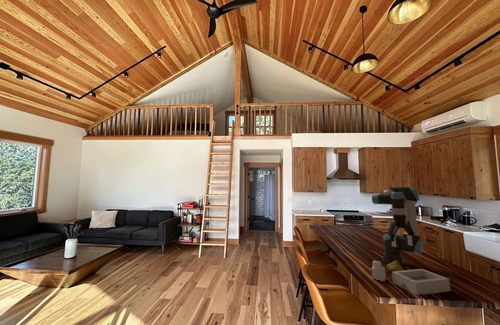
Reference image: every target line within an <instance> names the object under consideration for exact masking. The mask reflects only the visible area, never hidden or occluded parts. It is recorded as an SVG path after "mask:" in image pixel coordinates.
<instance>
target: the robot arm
mask: <svg viewBox="0 0 500 325" xmlns="http://www.w3.org/2000/svg"><path fill="white" fill-rule="evenodd" d="M419 201H420V196H419V193H418V189H417V188H416V186H415V187H414V186H394V187H393V186H392V187H389V188H387V189H385V190H383V191H382V193H379V194H377V193H375V194H372V196H371V202H372V204H373V205H389V206H391V211H392V218H393V219H392V220H394V221H390V225H389V227H388V228H389V229H388V231H387V233H385V234H383V238H382V240H383V250H384V254H383V257H382V261H384V262H383V263H385V262H386V263H385V264H388V263H392V262H393V261H398V262H399V263H400V265H401V266H403V265H405V259H404V258H403V255H402V252H406V253H412V254H422V252H423V247H424V243H423V242H424V240H423V238H421V236H420V234H419V233H418V224H417V222H418V221H417V210H416V205H417V204H418V202H419ZM399 229H403V231H404V232H403V233H402V236H401V235H400V234H399V233H397V232H398V231H399Z"/></svg>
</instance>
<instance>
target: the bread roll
mask: <svg viewBox="0 0 500 325" xmlns="http://www.w3.org/2000/svg"><path fill="white" fill-rule="evenodd" d="M386 270H387V271H388V272H389V273H391V274H392V272H394V271H404V269H403V265H400V263H399V262H398V261H393V262H392V263H389V264H388V263H387V264H386Z"/></svg>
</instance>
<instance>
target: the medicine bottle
mask: <svg viewBox="0 0 500 325" xmlns="http://www.w3.org/2000/svg"><path fill="white" fill-rule="evenodd" d="M382 261H383V260H382ZM382 261H381V260H379V259H373V260H372V267H371V279H372V280H374V279H376V280H375V281H378V280H380V281H379V282H383V281H384V282H385V281H386V269H385V267H384V265H383V264H384V262H382Z"/></svg>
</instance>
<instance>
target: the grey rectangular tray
mask: <svg viewBox="0 0 500 325" xmlns="http://www.w3.org/2000/svg"><path fill="white" fill-rule="evenodd" d="M391 278H392V283H393V284H394V285H396V286H399V287H400V288H401V289H404V290H406V291H408V292H410V293H411V294H413V295H416V296H421V295H420V294H423V295H429V294H430V293H431V294H439V293H445V292H446V293H447V292H451V284H450V278H448V277H446V276H443V275H439V274H437V273H435V272H431V271H429V270H426V269H423V268H418V269H407V270H406V269H405V270H403V271H394V272H392V273H391Z"/></svg>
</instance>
